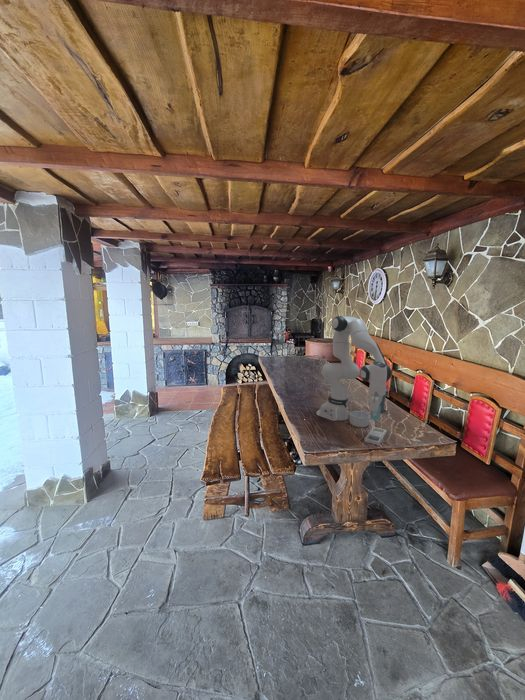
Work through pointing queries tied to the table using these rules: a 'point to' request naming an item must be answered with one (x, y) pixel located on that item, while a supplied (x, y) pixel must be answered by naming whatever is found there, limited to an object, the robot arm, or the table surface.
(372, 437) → the socket panel
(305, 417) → the table surface
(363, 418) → the ramekin
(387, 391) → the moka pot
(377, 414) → the teal plug
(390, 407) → the table surface
